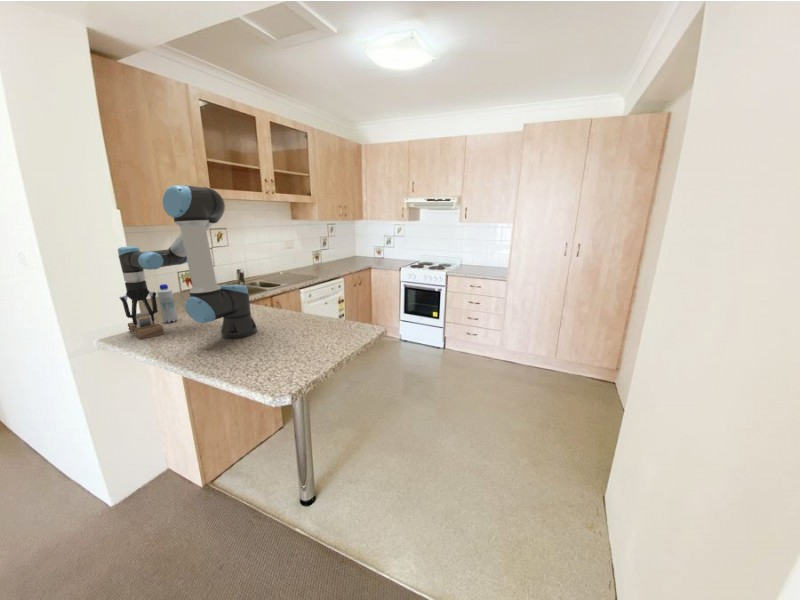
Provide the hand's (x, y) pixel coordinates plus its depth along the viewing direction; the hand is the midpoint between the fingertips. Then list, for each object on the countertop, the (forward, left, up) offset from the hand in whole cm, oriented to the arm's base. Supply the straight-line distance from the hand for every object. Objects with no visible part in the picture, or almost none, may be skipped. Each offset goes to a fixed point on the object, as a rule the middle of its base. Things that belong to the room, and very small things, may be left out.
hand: (145, 329), depth 154 cm
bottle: (+10, -13, -2) cm, 17 cm away
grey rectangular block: (0, 0, 0) cm, 0 cm away
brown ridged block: (0, 0, -2) cm, 2 cm away
